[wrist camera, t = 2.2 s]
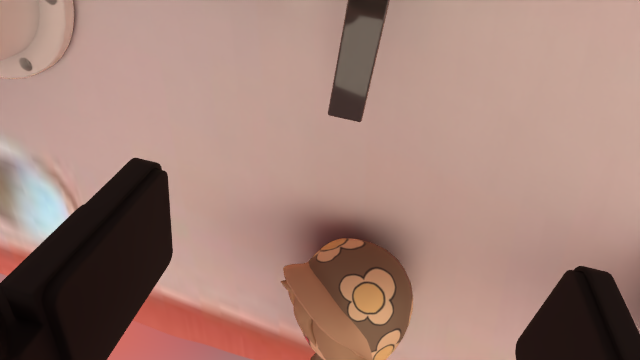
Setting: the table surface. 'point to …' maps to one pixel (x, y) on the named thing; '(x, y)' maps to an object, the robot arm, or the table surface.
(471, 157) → the table surface
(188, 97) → the table surface
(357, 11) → the saucepan
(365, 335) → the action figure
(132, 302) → the robot arm
